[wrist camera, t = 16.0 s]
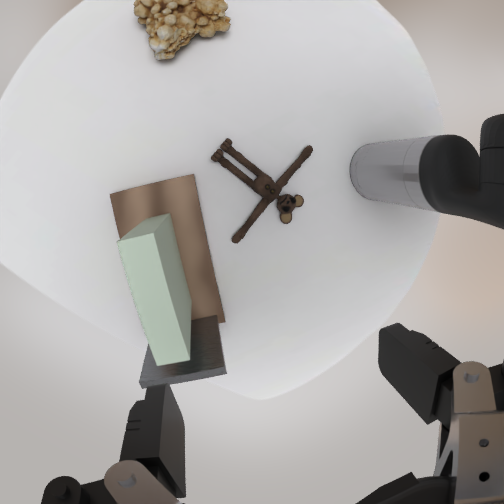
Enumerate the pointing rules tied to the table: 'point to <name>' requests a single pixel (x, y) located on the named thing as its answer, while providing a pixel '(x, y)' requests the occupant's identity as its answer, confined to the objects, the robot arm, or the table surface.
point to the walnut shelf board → (176, 234)
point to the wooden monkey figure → (263, 185)
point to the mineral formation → (179, 22)
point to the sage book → (159, 287)
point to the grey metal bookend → (201, 357)
